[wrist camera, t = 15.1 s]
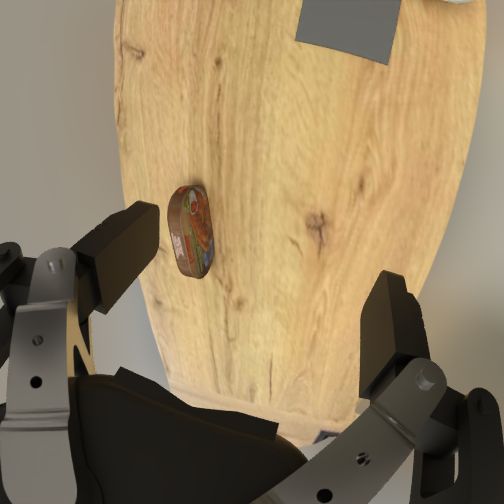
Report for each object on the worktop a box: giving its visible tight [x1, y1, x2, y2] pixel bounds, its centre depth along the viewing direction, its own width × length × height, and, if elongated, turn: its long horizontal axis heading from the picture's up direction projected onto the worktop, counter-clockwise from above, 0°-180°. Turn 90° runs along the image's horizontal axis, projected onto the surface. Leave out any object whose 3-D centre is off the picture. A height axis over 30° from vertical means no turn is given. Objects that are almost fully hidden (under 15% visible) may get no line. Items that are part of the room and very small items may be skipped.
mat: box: [295, 0, 401, 65], centre depth 28 cm, size 12×12×1 cm
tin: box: [167, 185, 214, 279], centre depth 47 cm, size 15×3×8 cm, turn 4°
